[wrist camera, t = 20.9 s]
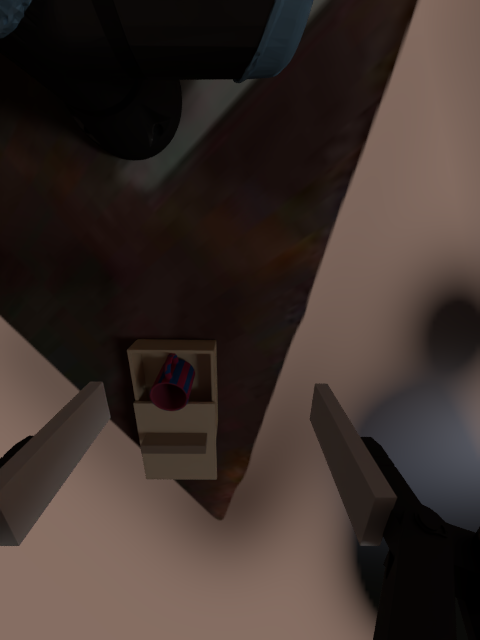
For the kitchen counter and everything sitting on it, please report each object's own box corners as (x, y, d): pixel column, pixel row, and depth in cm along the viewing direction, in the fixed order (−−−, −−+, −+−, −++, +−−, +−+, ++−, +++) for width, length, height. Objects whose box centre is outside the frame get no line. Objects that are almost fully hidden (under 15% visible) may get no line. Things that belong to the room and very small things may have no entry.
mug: (161, 382, 47) (149, 409, 41) (162, 341, 43) (149, 363, 36) (193, 387, 47) (186, 413, 41) (198, 346, 43) (191, 369, 37)
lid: (134, 401, 43) (125, 415, 40) (214, 401, 43) (213, 415, 40) (147, 476, 50) (140, 493, 47) (216, 476, 50) (215, 493, 47)
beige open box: (137, 339, 44) (126, 349, 40) (216, 340, 44) (213, 350, 40) (149, 421, 51) (141, 437, 47) (217, 421, 51) (216, 438, 47)
